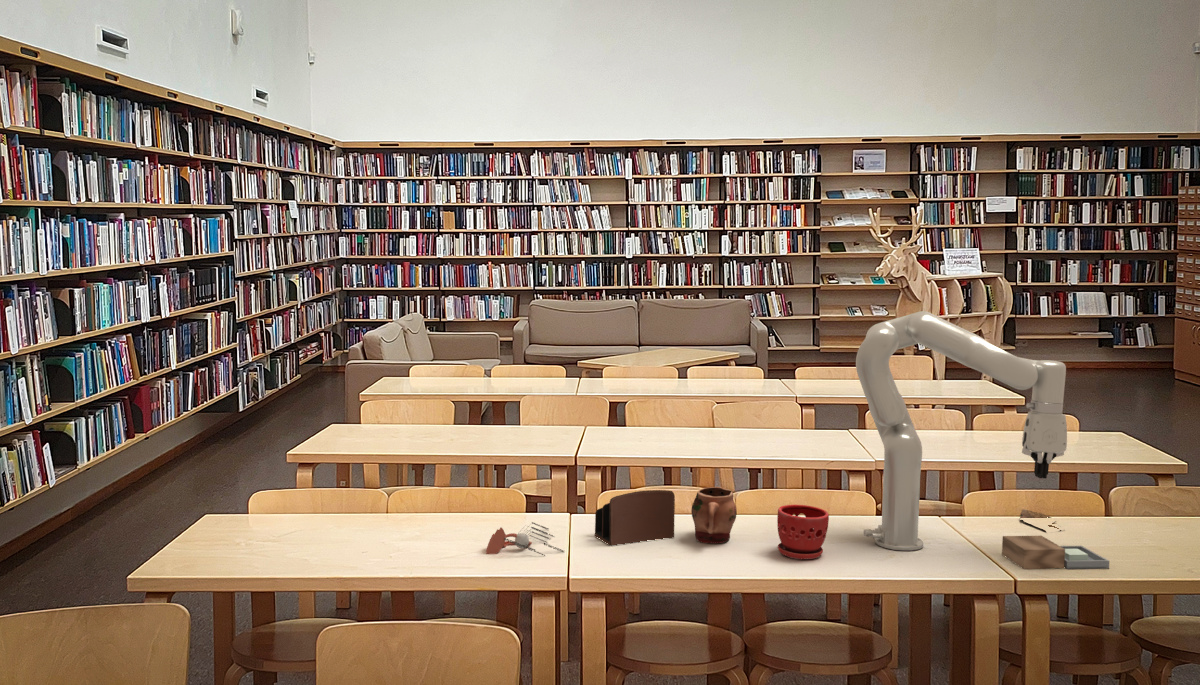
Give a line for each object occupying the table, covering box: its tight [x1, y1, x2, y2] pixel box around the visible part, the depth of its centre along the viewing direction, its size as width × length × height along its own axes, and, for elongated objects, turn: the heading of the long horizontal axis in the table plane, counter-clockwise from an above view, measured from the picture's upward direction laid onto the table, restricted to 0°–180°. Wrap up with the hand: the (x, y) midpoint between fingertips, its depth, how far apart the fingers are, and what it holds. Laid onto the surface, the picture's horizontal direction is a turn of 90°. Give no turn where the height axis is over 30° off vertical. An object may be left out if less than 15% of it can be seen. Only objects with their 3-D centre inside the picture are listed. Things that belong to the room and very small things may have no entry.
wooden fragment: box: [1019, 509, 1059, 529], centre depth 303 cm, size 26×11×1 cm, turn 169°
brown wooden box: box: [1001, 535, 1065, 570], centre depth 264 cm, size 10×12×5 cm
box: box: [1059, 545, 1110, 570], centre depth 265 cm, size 11×13×2 cm
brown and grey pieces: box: [485, 521, 564, 557], centre depth 276 cm, size 21×9×25 cm
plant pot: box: [776, 504, 830, 560], centre depth 268 cm, size 13×13×12 cm
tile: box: [1065, 549, 1088, 561], centre depth 265 cm, size 5×5×2 cm
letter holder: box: [594, 489, 676, 546], centre depth 282 cm, size 10×20×14 cm, turn 116°
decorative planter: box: [691, 486, 738, 544], centre depth 279 cm, size 20×12×14 cm, turn 175°
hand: (1040, 477), depth 269 cm, fingers closed
